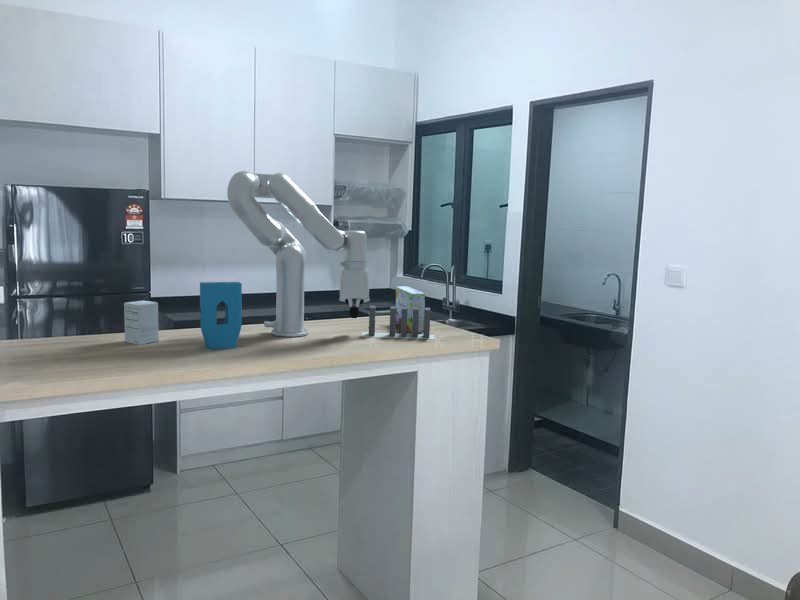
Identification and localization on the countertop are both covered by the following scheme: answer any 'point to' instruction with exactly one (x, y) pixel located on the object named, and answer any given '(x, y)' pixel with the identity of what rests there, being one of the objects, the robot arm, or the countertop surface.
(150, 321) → the supplement box
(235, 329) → the block
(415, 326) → the domino
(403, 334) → the domino
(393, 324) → the domino
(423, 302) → the snack box
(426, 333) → the domino
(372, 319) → the domino
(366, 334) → the mat
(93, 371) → the countertop surface
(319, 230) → the robot arm
